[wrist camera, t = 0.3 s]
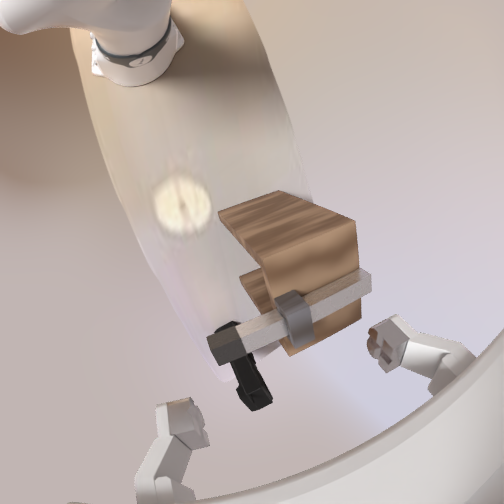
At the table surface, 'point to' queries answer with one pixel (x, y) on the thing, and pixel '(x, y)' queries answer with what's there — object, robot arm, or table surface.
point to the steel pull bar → (274, 323)
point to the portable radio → (249, 379)
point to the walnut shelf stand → (295, 261)
